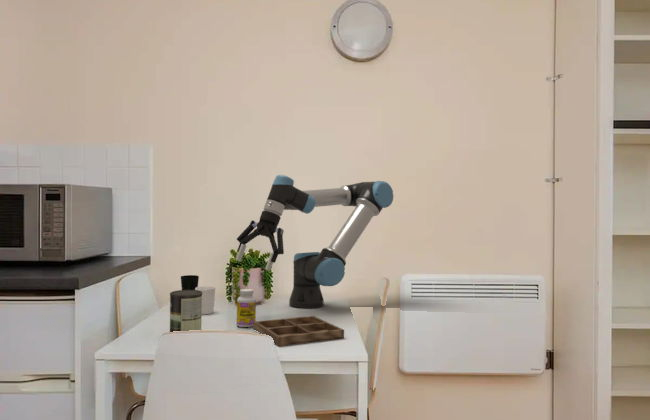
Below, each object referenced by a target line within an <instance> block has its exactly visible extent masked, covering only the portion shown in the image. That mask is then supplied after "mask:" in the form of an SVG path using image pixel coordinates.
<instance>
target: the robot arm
mask: <svg viewBox="0 0 650 420" xmlns="http://www.w3.org/2000/svg"><path fill="white" fill-rule="evenodd" d="M294 182H295V180H294V179H292V178H291V177H289V176H287V175H285V174H277V175H276V176H275V178H274V180H273V182H272V184H271V189H270V191H269V193H268V196H267V198H266V201H265V204H264V207H263V211H262V212H261V214H260V217H259V221H258V222H257V221H255V220H251V221H250V222H249V225H248V226H247V227H246V228H245V229H244V230H243V232H241V233H240V234H239V236H238V237H237V238H236V240H237V241H238V242H239V244H238V248H237V254H236V256H235V257H236V258H235V260H236V261H238V262H240V263H241V262H242V259H243V257H244V253H245V250H246V248H247V245H246V244H248V243H249V242H251V241H253V239H255V238H257V237H258V236H261V237H266V238H268V239H269V242H270V246H271V249H272V252H270V254H269V257H268V260H267V263H266V266H265V268H264V269H265V270H267V271H269V272H271V270H272V266H273V264H276V261H277V258H278V255H284V252H285V251H284V239H283V236H284V229H283V228H281V227H278V226H279V224H280V221H281V219H282V218H281V216H283V213H284V211H299V212H301V213H304V214H310V213H311V212H313V211H314V209H315V208H319V207H330V206H340V205H341V206H343V207H355V208H354V209H353V211H352V212H351V214H350V215H349V216H348V218H347V220H346V221H345V222H344V224H343V225H342V227H341V228H340V230H339V231H338V232H337V234H336V235H335V237H334V239H332V241H331V243H330V245H329V246H328V247H324V248H322V249H321V250H320V252H319V251H314V252H311V251H310V252H298V253H295V254H294V255H293V262H292V263H293V287H292V291H291V294H290V296H289V299H288V303H289V304H288V305H289V306H290V307H292V308H297V309H314V308H320V307H323V306H325V304H324V303H325V302H324V301H325V300H324V297H323V294H322V291H321V286H323V287H333V286H336V285H338V284H339V283H341V282H342V280H343V278H344V277H345V273H346V272H345V269H346V268H345V267H346V265H347V261H346V258H347V257H348V255H349V254H350V252H351V251H352V249H353V247H354V246H355V245H356V243H357V241H358V239H360V237H361V235H362V234H363V232H364V231H365V229H366V228H367V226H368V224H369V223H370V222H371V220H372V219H373V217H377V216H379V214H380V213H381V211H382V210H383V208H384V209H385V208H386V209H387V208H389V207H391V205H392V203H393V201H394V190H393V188H392V186H391V185H390V184H389V183H388V182H386V181H383V180H382V181H381V180H376V181H362V182H358V183H352V184H347V185H346V184H345V185H341V187H338V188H337V187H336V188H334V187H333V188H325V189H322V188H321V189H307V190H301V189H300V188H297V187H295V186H294V184H295V183H294ZM275 233H276V236H275V235H274V234H275ZM275 238H276V239H277V240H276V239H275ZM276 241H277V242H276Z"/></svg>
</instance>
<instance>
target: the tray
mask: <svg viewBox="0 0 650 420" xmlns="http://www.w3.org/2000/svg"><path fill="white" fill-rule="evenodd" d="M253 329H254V330H256V331H258V332H260V333H262V334H266V335H269V336H271V337H272V338H273V340H274V343H275V344H274V343H273V344H274V345H275V346H276V347H278V348H279V347H284V346H293V345H301V344H308V343H318V342H326V341H333V340H341V339H345V329H343V328H341V327H339V326H337V325H334V324H332V323H330V322H328V321H326V320H323V319H321V318H319V317H316V316H315V315H308V316H298V317H289V318H279V319H277V318H276V319H269V320H268V319H267V320H257V321H256V320H255V322H253ZM254 330H253V331H254ZM256 331H255V332H256Z"/></svg>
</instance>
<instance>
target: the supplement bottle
mask: <svg viewBox="0 0 650 420" xmlns="http://www.w3.org/2000/svg"><path fill="white" fill-rule="evenodd" d="M239 294H240V296H239V297H238V298H237V299H236V326H237V327H238V326H239V327H238V328H242V327H248V328H252V326H253V322H255V321H256V315H257V312H256V311H257V305H256V304H257V300H256V297H255V296H253V294H254V289H252V288H244V289H243V288H242V289H240V290H239Z"/></svg>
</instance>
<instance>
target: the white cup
mask: <svg viewBox="0 0 650 420" xmlns="http://www.w3.org/2000/svg"><path fill="white" fill-rule="evenodd" d="M195 290H198V291H202V315H211V314H214V311H215V309H214V307H215V301H216V300H215V299H216V297H215V296H216V287H214V286H209V285H208V286H206V285H205V286H198V287H196V288H195Z"/></svg>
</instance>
